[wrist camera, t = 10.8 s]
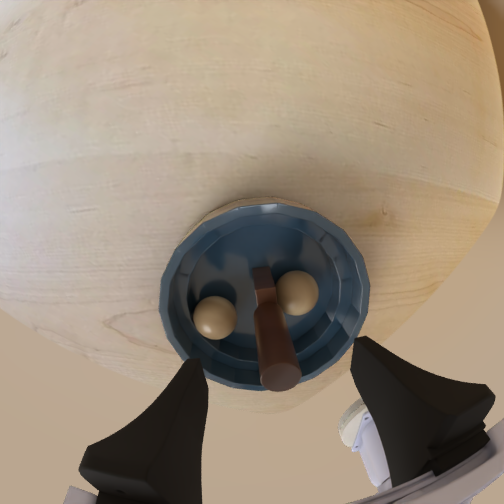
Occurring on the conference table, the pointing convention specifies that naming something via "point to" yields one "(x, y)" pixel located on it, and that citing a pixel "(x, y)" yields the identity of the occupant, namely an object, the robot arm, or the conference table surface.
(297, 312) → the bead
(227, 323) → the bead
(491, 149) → the conference table surface
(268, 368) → the stir paddle
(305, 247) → the bowl
